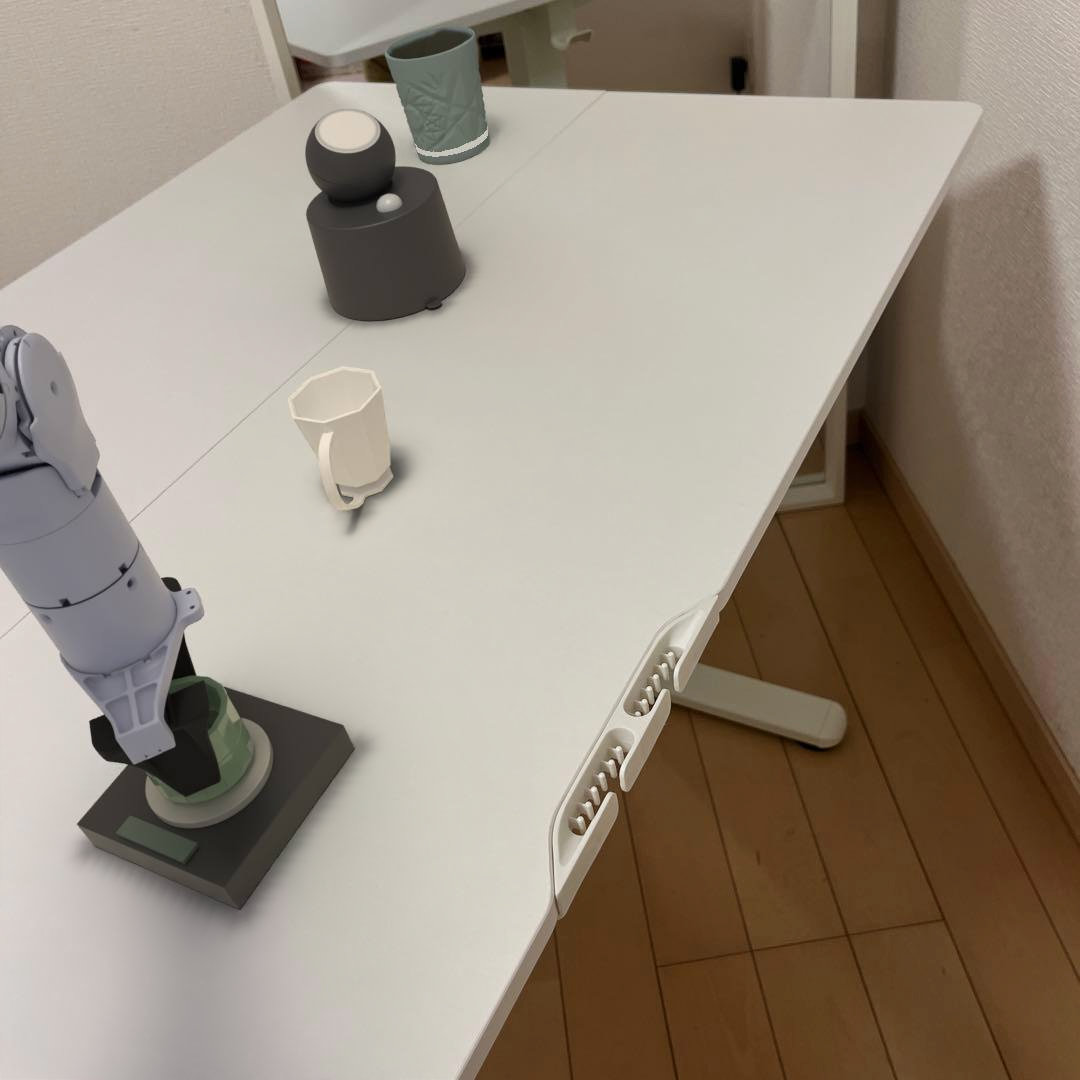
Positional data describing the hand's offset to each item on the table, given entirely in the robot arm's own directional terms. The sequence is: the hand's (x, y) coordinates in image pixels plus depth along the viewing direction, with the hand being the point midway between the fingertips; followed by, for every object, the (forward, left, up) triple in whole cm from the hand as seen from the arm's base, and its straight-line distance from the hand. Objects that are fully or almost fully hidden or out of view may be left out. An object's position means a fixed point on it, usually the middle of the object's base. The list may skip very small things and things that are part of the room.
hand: (192, 742), depth 60 cm
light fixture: (+49, +31, -5) cm, 58 cm away
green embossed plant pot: (+76, +47, -5) cm, 89 cm away
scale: (0, 0, -5) cm, 5 cm away
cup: (+24, +12, -5) cm, 27 cm away
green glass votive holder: (0, 0, -2) cm, 2 cm away
